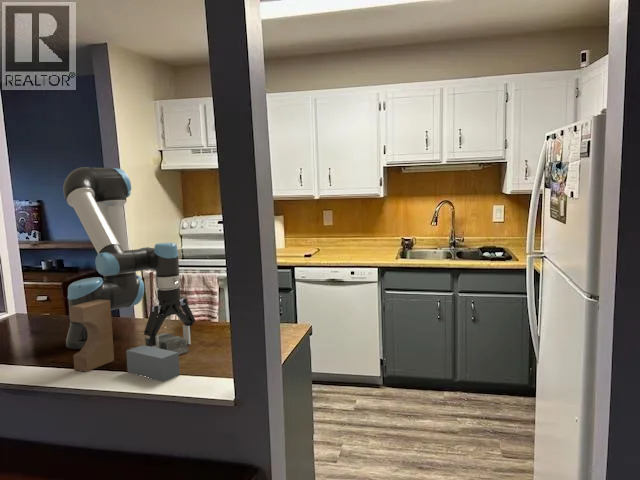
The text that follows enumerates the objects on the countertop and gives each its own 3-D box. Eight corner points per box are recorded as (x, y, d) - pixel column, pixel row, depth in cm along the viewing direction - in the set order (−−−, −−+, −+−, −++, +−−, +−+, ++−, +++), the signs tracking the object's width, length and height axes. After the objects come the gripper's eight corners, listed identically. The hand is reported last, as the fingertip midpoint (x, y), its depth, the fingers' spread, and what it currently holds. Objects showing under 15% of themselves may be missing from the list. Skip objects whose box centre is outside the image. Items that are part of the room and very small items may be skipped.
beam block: (127, 373, 147) (126, 350, 146) (144, 367, 152) (143, 345, 151) (163, 382, 138) (161, 358, 138) (179, 375, 143) (178, 352, 143)
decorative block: (85, 372, 148) (81, 307, 146) (73, 370, 150) (68, 306, 149) (115, 361, 158) (111, 300, 156) (103, 359, 160) (98, 299, 159)
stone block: (169, 344, 175) (168, 330, 175) (191, 352, 165) (190, 337, 165) (145, 350, 169) (144, 335, 168) (167, 359, 159) (166, 343, 158)
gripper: (145, 295, 154) (149, 361, 156) (203, 282, 175) (206, 340, 177) (130, 293, 158) (134, 357, 160) (188, 281, 179) (191, 338, 181)
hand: (172, 349), depth 168 cm, fingers open, 13 cm apart
